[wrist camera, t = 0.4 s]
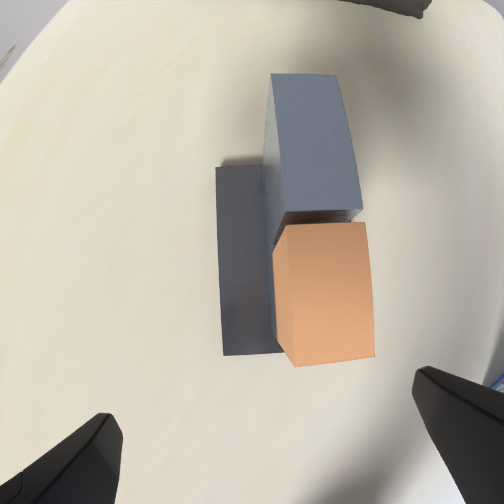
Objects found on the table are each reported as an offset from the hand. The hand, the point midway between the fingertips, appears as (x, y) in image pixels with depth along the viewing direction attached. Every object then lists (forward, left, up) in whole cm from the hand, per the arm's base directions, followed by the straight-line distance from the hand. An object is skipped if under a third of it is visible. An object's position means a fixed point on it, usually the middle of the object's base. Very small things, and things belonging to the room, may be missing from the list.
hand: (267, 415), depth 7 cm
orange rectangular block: (+4, 0, -10) cm, 10 cm away
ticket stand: (+7, +1, -15) cm, 16 cm away
